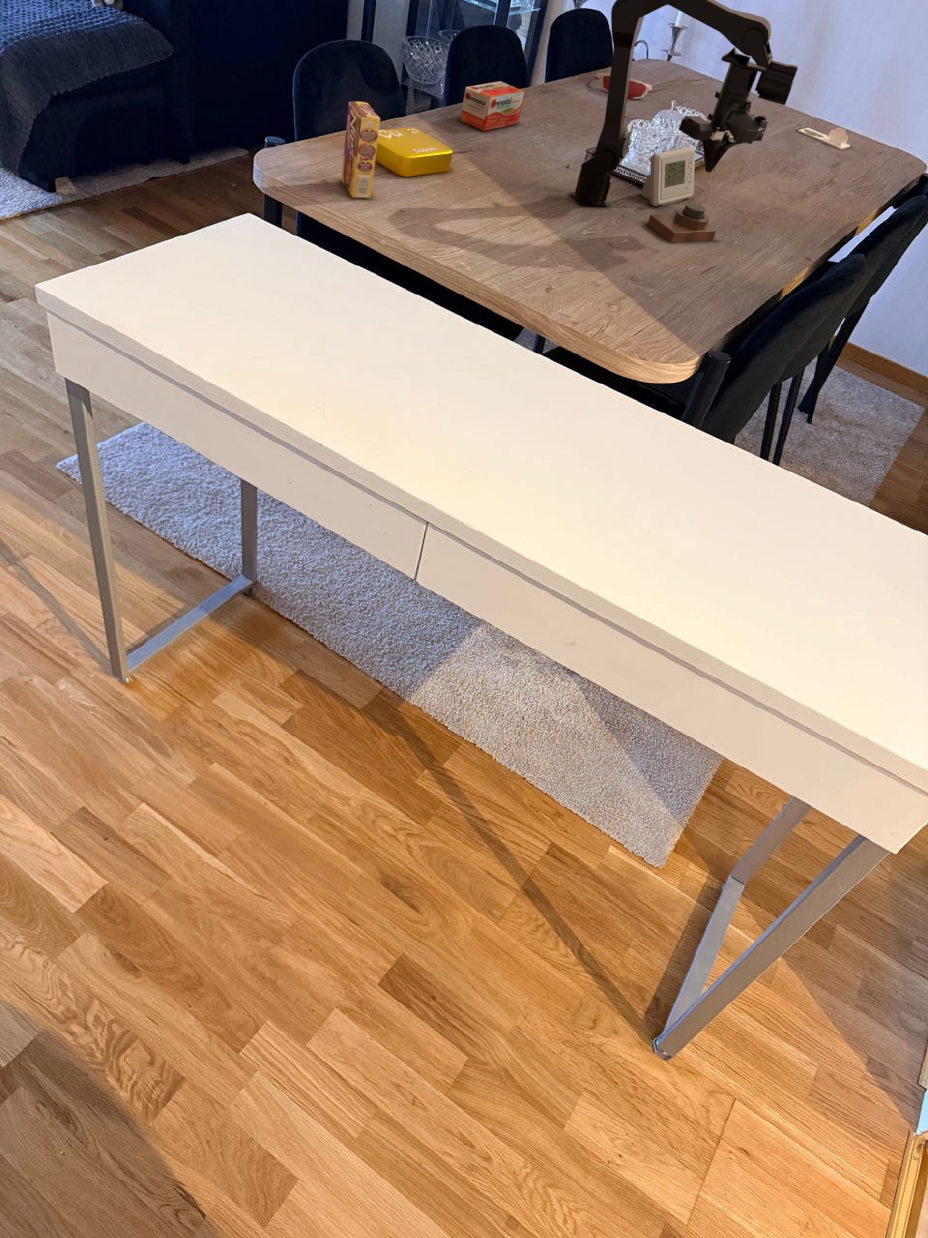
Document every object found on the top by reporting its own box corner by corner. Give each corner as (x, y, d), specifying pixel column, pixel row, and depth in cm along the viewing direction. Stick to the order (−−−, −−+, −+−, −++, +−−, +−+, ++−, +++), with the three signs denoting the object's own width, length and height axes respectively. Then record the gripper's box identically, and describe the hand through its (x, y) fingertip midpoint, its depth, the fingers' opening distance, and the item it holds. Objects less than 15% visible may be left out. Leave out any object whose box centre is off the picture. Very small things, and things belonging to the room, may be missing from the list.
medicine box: (494, 113, 240) (500, 79, 234) (518, 124, 237) (525, 90, 232) (458, 121, 230) (464, 86, 225) (484, 132, 228) (490, 97, 222)
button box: (670, 242, 198) (677, 223, 195) (647, 224, 203) (652, 206, 200) (712, 240, 203) (719, 222, 200) (688, 222, 208) (694, 204, 205)
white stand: (849, 146, 279) (856, 131, 276) (840, 149, 275) (847, 133, 272) (807, 128, 285) (813, 113, 282) (797, 131, 281) (803, 115, 278)
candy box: (372, 199, 186) (381, 117, 175) (352, 198, 184) (359, 116, 174) (360, 181, 191) (368, 101, 181) (340, 180, 190) (347, 99, 179)
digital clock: (651, 209, 210) (667, 160, 203) (626, 192, 215) (640, 144, 208) (700, 204, 218) (717, 157, 211) (675, 189, 223) (690, 142, 216)
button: (690, 220, 199) (694, 210, 198) (678, 211, 202) (682, 202, 200) (706, 219, 201) (709, 210, 200) (694, 211, 204) (697, 201, 202)
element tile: (401, 178, 196) (404, 154, 193) (359, 151, 203) (361, 128, 200) (453, 171, 205) (457, 148, 201) (411, 146, 212) (414, 123, 208)
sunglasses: (593, 89, 272) (597, 70, 269) (593, 86, 286) (597, 67, 284) (649, 103, 272) (654, 84, 270) (647, 99, 286) (652, 81, 284)
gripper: (725, 104, 175) (697, 187, 186) (795, 106, 183) (764, 186, 194) (691, 83, 182) (665, 165, 192) (759, 87, 190) (731, 165, 201)
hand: (707, 171), depth 195 cm, fingers closed
